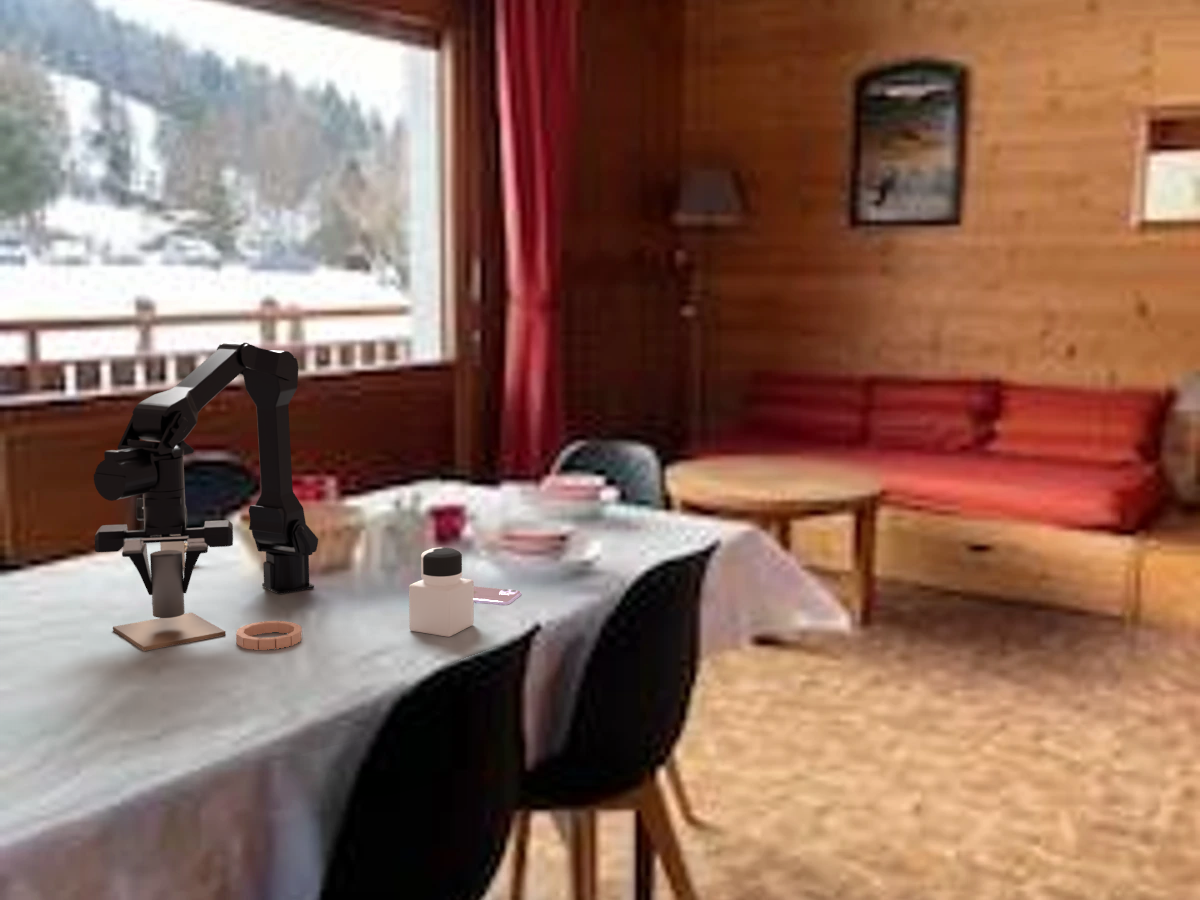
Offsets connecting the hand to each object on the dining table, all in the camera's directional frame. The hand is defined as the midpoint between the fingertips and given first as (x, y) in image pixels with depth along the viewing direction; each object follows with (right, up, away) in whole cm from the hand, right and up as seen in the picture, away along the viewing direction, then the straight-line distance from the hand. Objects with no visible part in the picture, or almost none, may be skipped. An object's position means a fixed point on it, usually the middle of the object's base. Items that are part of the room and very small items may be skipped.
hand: (167, 593), depth 186 cm
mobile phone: (+42, -3, +24) cm, 48 cm away
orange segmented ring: (+15, -7, -2) cm, 17 cm away
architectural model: (-12, 0, +41) cm, 43 cm away
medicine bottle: (+39, -6, +5) cm, 40 cm away
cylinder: (0, -3, 0) cm, 3 cm away
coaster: (0, -6, +1) cm, 6 cm away
